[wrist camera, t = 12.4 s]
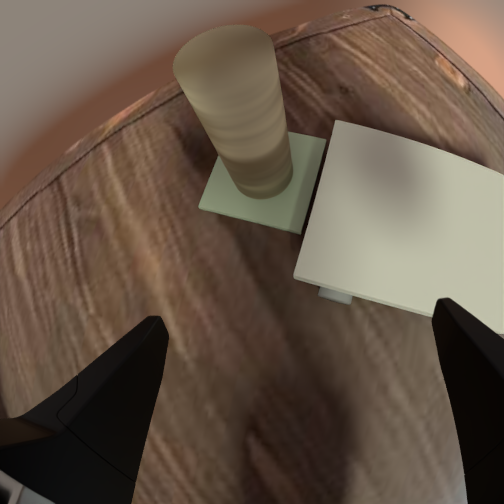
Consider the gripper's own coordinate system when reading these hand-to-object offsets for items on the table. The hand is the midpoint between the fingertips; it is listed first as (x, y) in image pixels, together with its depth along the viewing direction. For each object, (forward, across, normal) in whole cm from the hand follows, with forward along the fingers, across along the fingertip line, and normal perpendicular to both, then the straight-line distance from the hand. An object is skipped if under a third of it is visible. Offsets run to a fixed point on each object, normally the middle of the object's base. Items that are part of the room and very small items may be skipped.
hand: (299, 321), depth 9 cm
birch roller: (+18, +3, +1) cm, 18 cm away
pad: (+18, +2, +1) cm, 18 cm away
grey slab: (+14, -9, +5) cm, 17 cm away
